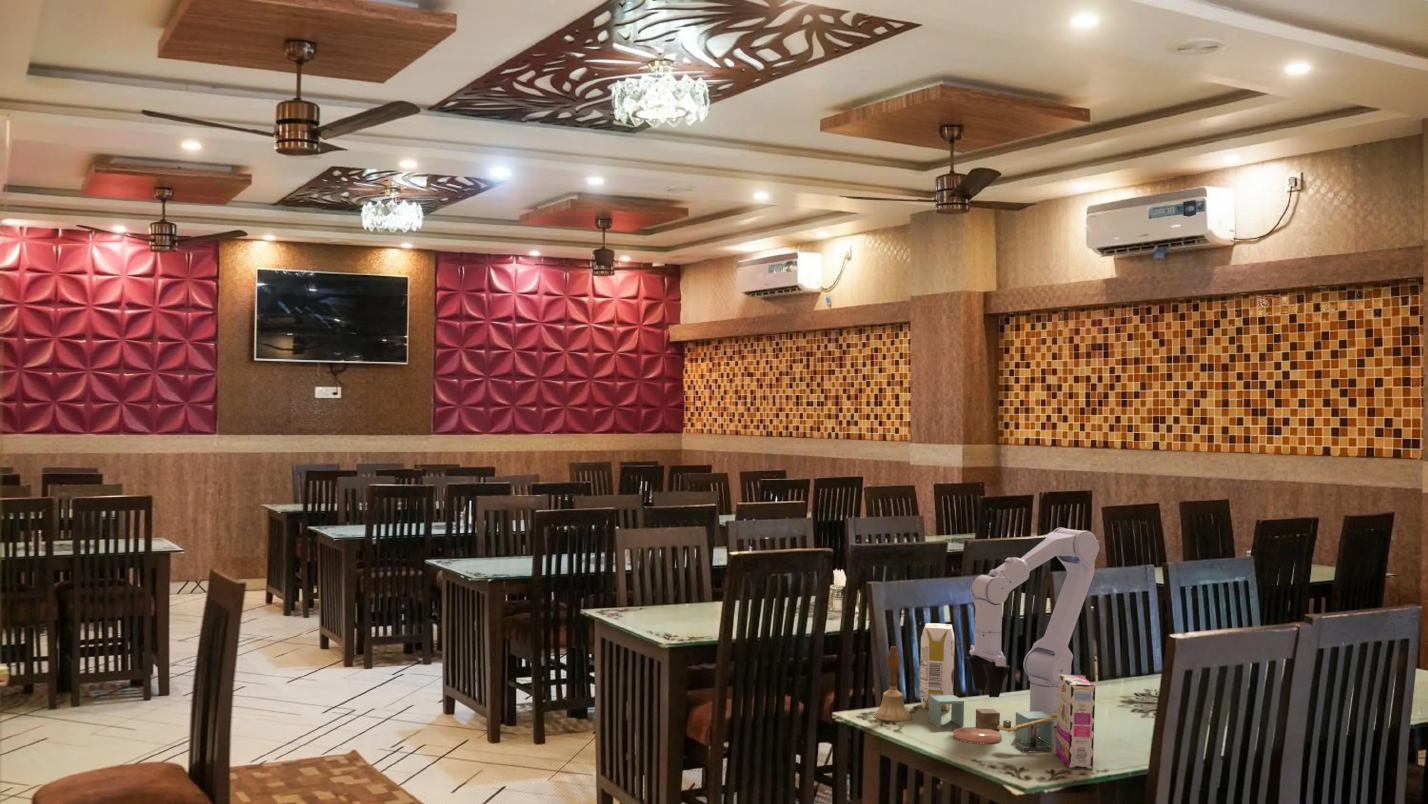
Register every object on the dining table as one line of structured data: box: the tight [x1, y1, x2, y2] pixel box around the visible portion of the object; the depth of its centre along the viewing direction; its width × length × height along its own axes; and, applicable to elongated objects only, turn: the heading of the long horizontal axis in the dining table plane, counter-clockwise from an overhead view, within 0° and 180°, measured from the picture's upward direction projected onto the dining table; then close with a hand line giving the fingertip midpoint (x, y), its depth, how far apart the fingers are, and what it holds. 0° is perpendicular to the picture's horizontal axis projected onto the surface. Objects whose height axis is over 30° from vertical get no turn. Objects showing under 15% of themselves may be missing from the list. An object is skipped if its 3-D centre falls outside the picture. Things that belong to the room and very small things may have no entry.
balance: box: [997, 711, 1057, 753], centre depth 258 cm, size 16×4×7 cm, turn 101°
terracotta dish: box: [953, 726, 1003, 745], centre depth 266 cm, size 10×10×1 cm
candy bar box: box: [1055, 674, 1096, 770], centre depth 249 cm, size 11×5×16 cm, turn 178°
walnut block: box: [975, 708, 1001, 732], centre depth 275 cm, size 4×4×4 cm
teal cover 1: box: [928, 694, 965, 728], centre depth 279 cm, size 6×6×6 cm
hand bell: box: [873, 645, 912, 722], centre depth 284 cm, size 8×8×16 cm
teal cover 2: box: [1014, 711, 1055, 745], centre depth 265 cm, size 6×6×6 cm
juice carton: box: [919, 622, 955, 711], centre depth 295 cm, size 8×9×19 cm
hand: (986, 692), depth 274 cm, fingers open, 7 cm apart
